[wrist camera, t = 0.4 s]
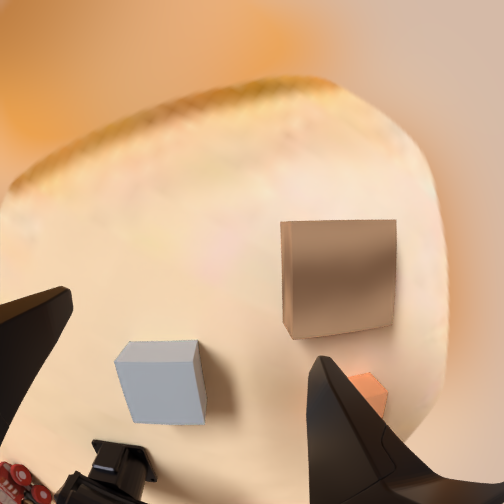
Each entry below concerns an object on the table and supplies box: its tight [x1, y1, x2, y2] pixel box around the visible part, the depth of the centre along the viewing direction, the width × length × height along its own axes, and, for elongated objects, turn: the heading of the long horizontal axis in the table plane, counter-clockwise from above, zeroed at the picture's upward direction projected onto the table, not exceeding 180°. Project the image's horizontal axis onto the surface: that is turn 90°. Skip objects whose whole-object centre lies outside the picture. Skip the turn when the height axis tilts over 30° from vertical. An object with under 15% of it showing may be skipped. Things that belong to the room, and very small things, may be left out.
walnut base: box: [280, 220, 397, 340], centre depth 20 cm, size 8×8×4 cm
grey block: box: [114, 340, 207, 425], centre depth 20 cm, size 6×6×4 cm
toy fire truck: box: [0, 462, 52, 504], centre depth 17 cm, size 7×12×10 cm, turn 25°
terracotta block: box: [347, 372, 388, 418], centre depth 22 cm, size 5×5×4 cm
